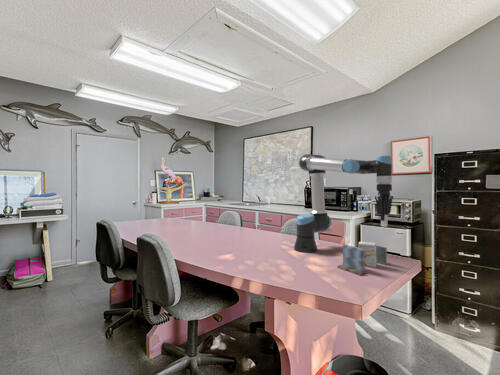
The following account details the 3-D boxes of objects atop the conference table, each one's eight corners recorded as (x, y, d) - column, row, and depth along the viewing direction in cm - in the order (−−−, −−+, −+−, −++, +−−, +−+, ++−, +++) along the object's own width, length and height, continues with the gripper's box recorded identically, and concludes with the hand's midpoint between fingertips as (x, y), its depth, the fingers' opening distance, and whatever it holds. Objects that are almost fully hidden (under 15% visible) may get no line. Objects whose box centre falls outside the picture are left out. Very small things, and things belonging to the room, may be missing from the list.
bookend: (368, 260, 146) (368, 244, 146) (373, 259, 148) (373, 243, 148) (385, 265, 137) (385, 248, 137) (390, 263, 139) (390, 247, 139)
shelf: (337, 267, 137) (337, 244, 137) (371, 260, 150) (371, 239, 150) (360, 275, 125) (360, 250, 125) (394, 266, 138) (394, 244, 138)
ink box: (376, 264, 138) (376, 242, 138) (376, 267, 134) (376, 244, 134) (359, 262, 142) (359, 241, 142) (358, 265, 138) (358, 243, 138)
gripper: (382, 183, 138) (382, 228, 138) (398, 183, 144) (398, 226, 145) (370, 183, 144) (370, 226, 145) (385, 183, 151) (385, 224, 151)
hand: (384, 226), depth 145 cm, fingers closed
